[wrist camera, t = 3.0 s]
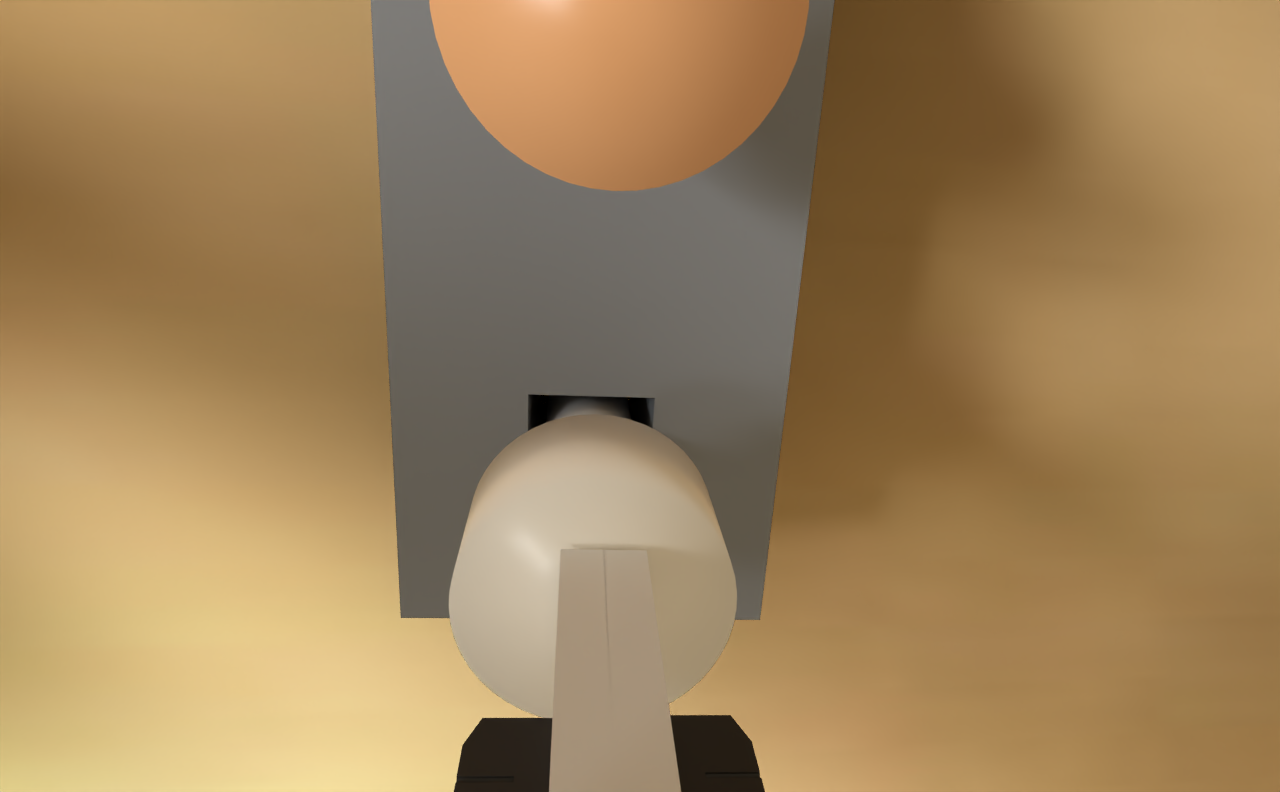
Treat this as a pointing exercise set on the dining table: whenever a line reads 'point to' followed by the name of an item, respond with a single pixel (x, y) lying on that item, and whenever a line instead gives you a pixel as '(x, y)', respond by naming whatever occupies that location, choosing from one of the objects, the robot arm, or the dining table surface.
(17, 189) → the dining table surface
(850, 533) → the dining table surface
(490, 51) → the knob
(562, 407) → the knob
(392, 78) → the console
